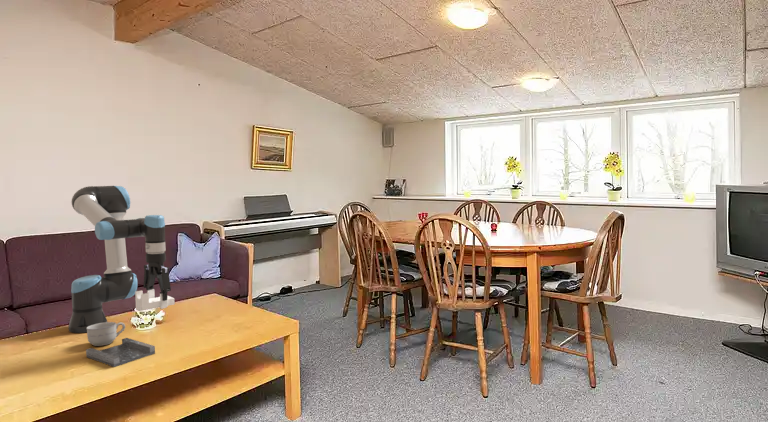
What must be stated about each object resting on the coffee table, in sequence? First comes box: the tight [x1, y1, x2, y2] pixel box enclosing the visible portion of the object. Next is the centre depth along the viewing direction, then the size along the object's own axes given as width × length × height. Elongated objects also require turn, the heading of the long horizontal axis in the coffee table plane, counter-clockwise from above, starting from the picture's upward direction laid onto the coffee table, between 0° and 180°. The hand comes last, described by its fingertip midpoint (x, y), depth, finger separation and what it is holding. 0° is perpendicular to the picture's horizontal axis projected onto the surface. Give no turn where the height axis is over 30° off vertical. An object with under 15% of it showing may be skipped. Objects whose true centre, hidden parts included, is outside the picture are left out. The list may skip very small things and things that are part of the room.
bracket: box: [134, 290, 176, 312], centre depth 205 cm, size 13×7×8 cm, turn 136°
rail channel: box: [85, 337, 156, 368], centre depth 190 cm, size 19×16×3 cm
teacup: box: [86, 321, 126, 347], centre depth 204 cm, size 14×11×8 cm
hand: (157, 306), depth 206 cm, fingers closed on bracket, 8 cm apart
